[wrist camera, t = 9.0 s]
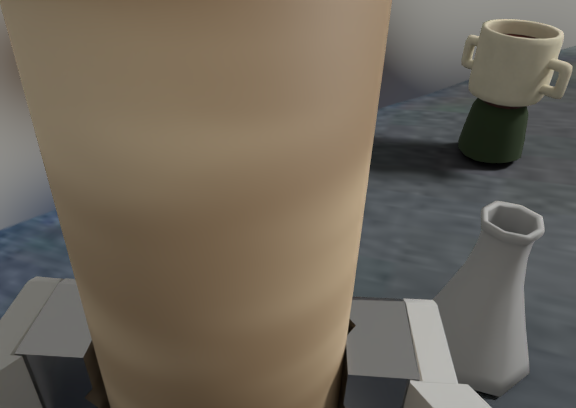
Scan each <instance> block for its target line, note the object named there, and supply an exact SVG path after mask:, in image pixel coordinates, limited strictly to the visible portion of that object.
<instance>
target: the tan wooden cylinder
mask: <svg viewBox="0 0 576 408" xmlns="http://www.w3.org/2000/svg"><path fill="white" fill-rule="evenodd" d="M391 4H392V0H0V5H1V9H2V13H3V16H4V20H5V24H6V27H7V31H8V35H9V38H10V42H11V46H12V49H13V53H14V57H15V60H16V64H17V67H18V71H19V75H20V79H21V82H22V86H23V89H24V93H25V97H26V101H27V104H28V108H29V111H30V115H31V119H32V122H33V126H34V129H35V133H36V137H37V141H38V144H39V148H40V152H41V155H42V159H43V163H44V166H45V170H46V173H47V177H48V181H49V185H50V188H51V192H52V196H53V199H54V203H55V207H56V210H57V214H58V218H59V221H60V225H61V229H62V232H63V236H64V240H65V243H66V247H67V251H68V254H69V258H70V262H71V265H72V269H73V273H74V276H75V280H76V284H77V287H78V291H79V295H80V298H81V302H82V306H83V309H84V313H85V317H86V320H87V324H88V328H89V331H90V335H91V339H92V342H93V346H94V350H95V353H96V357H97V361H98V364H99V368H100V372H101V375H102V379H103V382H104V386H105V390H106V393H107V397H108V401H109V404H110V408H337V406H338V398H339V391H340V386H341V378H342V368H343V361H344V354H345V346H346V340H347V333H348V326H349V318H350V311H351V304H352V296H353V289H354V281H355V274H356V266H357V259H358V251H359V244H360V236H361V229H362V221H363V214H364V206H365V199H366V191H367V184H368V176H369V169H370V161H371V154H372V147H373V139H374V132H375V124H376V117H377V109H378V102H379V94H380V87H381V79H382V72H383V64H384V57H385V49H386V41H387V34H388V27H389V19H390V12H391Z"/></svg>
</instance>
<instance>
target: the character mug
mask: <svg viewBox="0 0 576 408" xmlns="http://www.w3.org/2000/svg"><path fill="white" fill-rule="evenodd" d="M563 38H564V34H563V32H562V31H561V30H559V29H558V28H555V27H553V26H550V25H547V24H543V23H538V22H532V21H525V20H516V19H497V20H489V21H486V22H484V23H483V25H482V28H481V33H480V36H476V35H469V36H468V38H467V40H466V42H465V47H464V51H463V56H462V65H463V66H464V67H465V68H468V69H471V74H470V79H469V91H470V92H471V93H472V94H473V95H474V96H476V97H477V99H476V101H475V102H474V103H473V105H472V107H471V110H470V112H469V115H468V117H467V119H466V122H465V124H464V127H463V129H462V132H461V135H460V138H459V141H458V148H459V149H460V150H461V151H462V153H463V154H464V155H465V156H467V157H470V158H472V159H474V160H476V161H481V162H487V163H507V162H511V161H515V160H517V159H519V158H521V154H522V149H523V145H524V140H525V133H526V127H527V120H528V111H527V106H529V105H533V104H536V103H537V102H539V101H540V100H541V99H542V98H543V96H544V95H545V96H548V97H551V98H554V99H561V98H562V96H563V95H564V93H565V90H566V87H567V84H568V82H569V79H570V76H571V73H572V65H570V64H569V63H567V62H564V61H561V60H558V55H559V52H560V50H561V46H562V44H563ZM475 46H477V49H476V53H475V58H474V60H472V56H473V52H474V47H475ZM554 71H558V72H559V76H558V79H557V82H556V85H555V87H552V86H549V84H550V81H551V78H552V75H553V72H554Z"/></svg>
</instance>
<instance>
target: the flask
mask: <svg viewBox="0 0 576 408" xmlns="http://www.w3.org/2000/svg"><path fill="white" fill-rule="evenodd" d="M481 229H482V230H481V233H480V236H479V239H478V241H477V243H476V245H475V246H474V248H473V250H472V252H471V253H470V255H469V257H468V259H467V260H466V262H465V263H464V265H463V266H462V267H461V268H460V269H459V270H458V272H457V273H456V274H455V275H454V276H453V277H452V279H451V280H450V281H449V282H448V283H447V285H446V286H445V287H444V288H443V289H442V290H441V291H440V292H439V293H438V294H437V296H436V297H435V298H434V299H433V300H434V301H435V303H436V304H437V306H438V309H439V313H440V317H441V321H442V324H443V328H444V332H445V336H446V339H447V343H448V347H449V351H450V354H451V358H452V362H453V366H454V369H455V373H456V377H457V381H458V384H468V385H469V386H470V387H471V388H472V389H473V390H476V391H480V392H483V393H487V394H491V395H495V396H498V397H501V396H502V395H503V394H504V393H506V392H507V391H508V390H509V389H511V388H512V387H513V386H514V385H516V384H517V383H518V382H519V381H520V380H522V379H523V378H524V377H525V376H527V375H528V374H529V358H528V347H527V336H526V326H525V305H524V280H525V273H526V265H527V259H528V256H529V253H530V250H531V247H532V245H533V242H534V241H535V240H537V239H539V238H540V237H542V235H543V234H544V231H545V229H544V223H543V217H542V216H540V215H539V214H537V213H535V212H533V211H531V210H529V209H527V208H526V207H524V206H522V205H517V204H512V203H507V202H501V201H495V202H493V203H491V204H489V205H487V206H485V207H483V208H482V210H481Z"/></svg>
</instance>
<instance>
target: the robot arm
mask: <svg viewBox="0 0 576 408" xmlns="http://www.w3.org/2000/svg"><path fill="white" fill-rule="evenodd" d="M0 408H110V404H109V401H108V397H107V393H106V390H105V386H104V382H103V379H102V375H101V372H100V368H99V364H98V361H97V357H96V353H95V350H94V346H93V342H92V339H91V335H90V331H89V328H88V324H87V320H86V317H85V313H84V309H83V306H82V302H81V298H80V295H79V291H78V287H77V284H76V280H75V279H66V278H65V279H58V278H47V277H35V278H33V279H31V280H30V281H28V282H27V283H26V284H25V286H24V287H23V289H22V290H21V292H20V293H19V294H18V296H17V297H16V299H15V300H14V301H13V303H12V304H11V306H10V307H9V309H8V310H7V311H6V313H5V314H4V316H3V317H2V318H1V320H0ZM337 408H491V407H490V406H489V405H488V404H487V403H486V402H485V401H484V400H483V399H482V398H481V397H480V396H479V395H478V394H477V393H476V392H475V391H474V390H473V389H472V388H471V387H470V386H469V385H468V384H458V381H457V377H456V373H455V369H454V366H453V362H452V358H451V354H450V351H449V347H448V343H447V339H446V336H445V332H444V328H443V324H442V321H441V317H440V313H439V309H438V306H437V304H436V303H435V301H434V300H420V299H403V300H402V299H395V298H375V297H355V296H352V304H351V311H350V318H349V326H348V333H347V340H346V346H345V354H344V361H343V368H342V378H341V386H340V391H339V398H338V406H337Z"/></svg>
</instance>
